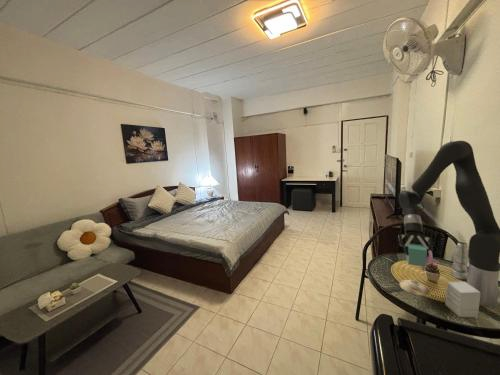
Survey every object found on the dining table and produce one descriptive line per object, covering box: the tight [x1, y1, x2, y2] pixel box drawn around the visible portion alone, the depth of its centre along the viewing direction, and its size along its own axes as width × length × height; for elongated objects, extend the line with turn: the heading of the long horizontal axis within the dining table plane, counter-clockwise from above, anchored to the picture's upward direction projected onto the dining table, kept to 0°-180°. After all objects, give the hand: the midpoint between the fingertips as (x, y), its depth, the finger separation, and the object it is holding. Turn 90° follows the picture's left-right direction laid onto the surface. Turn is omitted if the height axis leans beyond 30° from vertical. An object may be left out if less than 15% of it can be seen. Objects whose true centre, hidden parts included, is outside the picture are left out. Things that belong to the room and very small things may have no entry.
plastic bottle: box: [450, 241, 469, 281], centre depth 110 cm, size 6×7×20 cm
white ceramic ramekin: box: [409, 279, 420, 290], centre depth 106 cm, size 4×4×3 cm
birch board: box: [399, 279, 430, 296], centre depth 107 cm, size 12×12×1 cm
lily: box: [420, 250, 440, 271], centre depth 123 cm, size 12×12×10 cm
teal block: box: [405, 243, 427, 267], centre depth 103 cm, size 7×7×8 cm
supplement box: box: [445, 280, 481, 320], centre depth 90 cm, size 7×7×13 cm
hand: (416, 256), depth 102 cm, fingers closed on teal block, 6 cm apart
